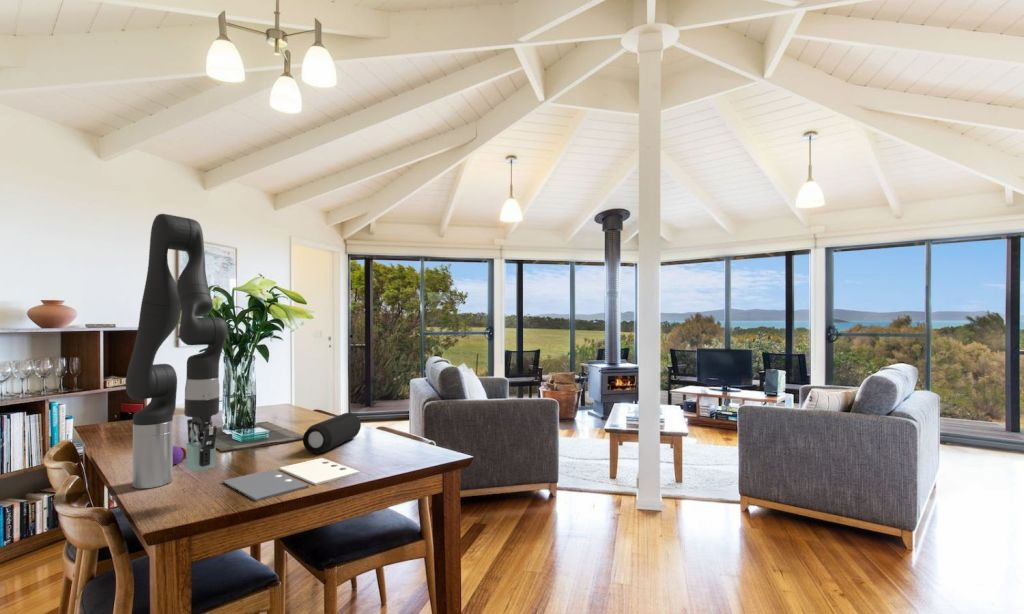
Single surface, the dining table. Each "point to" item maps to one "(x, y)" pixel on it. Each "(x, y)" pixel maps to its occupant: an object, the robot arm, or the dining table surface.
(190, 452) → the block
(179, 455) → the kendama
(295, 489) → the two dot pad
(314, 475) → the three dot pad
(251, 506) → the dining table surface
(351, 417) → the portable speaker
